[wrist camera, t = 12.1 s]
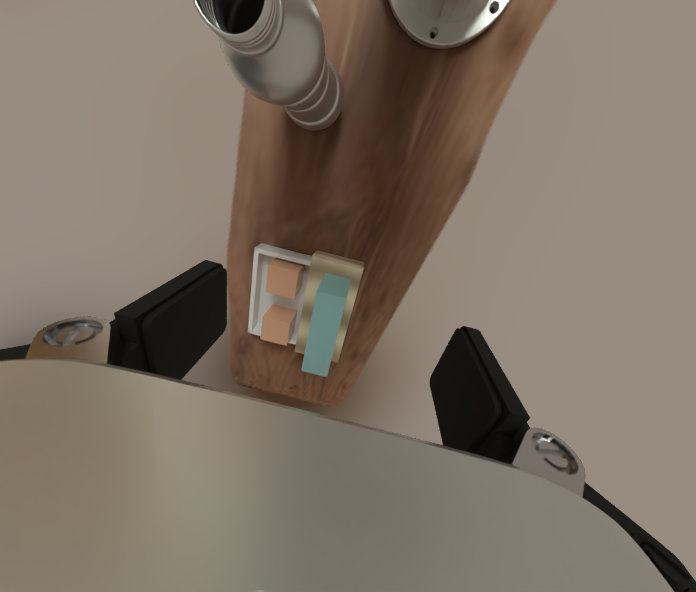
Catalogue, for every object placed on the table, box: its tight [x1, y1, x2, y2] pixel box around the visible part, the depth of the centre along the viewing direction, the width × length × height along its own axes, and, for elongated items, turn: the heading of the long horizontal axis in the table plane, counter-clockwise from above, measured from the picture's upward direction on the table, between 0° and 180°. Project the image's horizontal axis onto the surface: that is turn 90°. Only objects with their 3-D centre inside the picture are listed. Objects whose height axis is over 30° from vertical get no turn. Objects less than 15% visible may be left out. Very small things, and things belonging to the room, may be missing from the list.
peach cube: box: [260, 304, 298, 346], centre depth 40 cm, size 4×4×4 cm
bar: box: [301, 273, 351, 377], centre depth 35 cm, size 12×4×6 cm, turn 167°
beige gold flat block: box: [295, 250, 364, 363], centre depth 39 cm, size 16×7×3 cm, turn 167°
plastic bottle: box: [193, 0, 344, 131], centre depth 20 cm, size 6×7×20 cm
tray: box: [248, 243, 312, 345], centre depth 39 cm, size 14×8×2 cm, turn 167°
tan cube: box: [266, 258, 305, 299], centre depth 36 cm, size 4×4×4 cm
